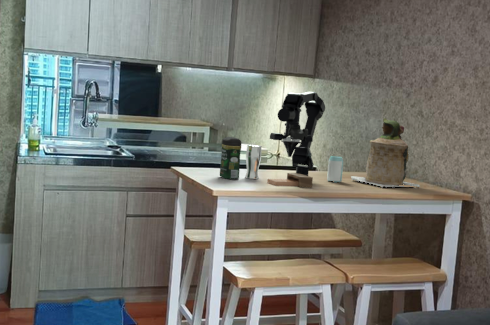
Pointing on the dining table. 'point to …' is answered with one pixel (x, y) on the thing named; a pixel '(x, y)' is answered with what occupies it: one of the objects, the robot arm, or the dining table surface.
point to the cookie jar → (387, 158)
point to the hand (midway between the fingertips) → (289, 156)
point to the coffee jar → (230, 158)
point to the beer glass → (253, 161)
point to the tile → (283, 182)
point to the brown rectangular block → (301, 179)
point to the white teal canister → (335, 169)
